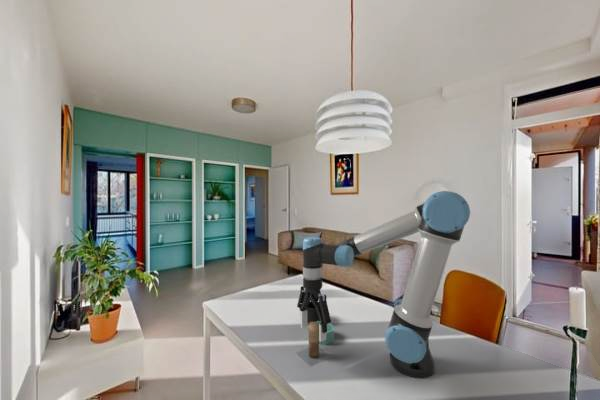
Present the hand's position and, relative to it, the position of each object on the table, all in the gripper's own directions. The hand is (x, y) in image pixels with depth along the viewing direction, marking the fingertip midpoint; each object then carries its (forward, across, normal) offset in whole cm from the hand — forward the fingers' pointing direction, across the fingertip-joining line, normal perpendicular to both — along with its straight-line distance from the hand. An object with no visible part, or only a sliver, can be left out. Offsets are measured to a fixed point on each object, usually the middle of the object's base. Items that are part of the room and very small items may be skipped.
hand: (313, 333), depth 99 cm
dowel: (+8, 0, 0) cm, 8 cm away
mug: (+9, +21, -18) cm, 29 cm away
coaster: (+9, 0, 0) cm, 9 cm away
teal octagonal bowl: (+9, +8, -10) cm, 16 cm away
